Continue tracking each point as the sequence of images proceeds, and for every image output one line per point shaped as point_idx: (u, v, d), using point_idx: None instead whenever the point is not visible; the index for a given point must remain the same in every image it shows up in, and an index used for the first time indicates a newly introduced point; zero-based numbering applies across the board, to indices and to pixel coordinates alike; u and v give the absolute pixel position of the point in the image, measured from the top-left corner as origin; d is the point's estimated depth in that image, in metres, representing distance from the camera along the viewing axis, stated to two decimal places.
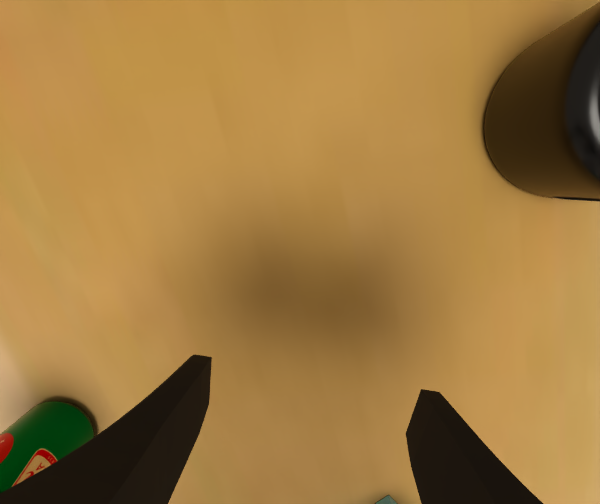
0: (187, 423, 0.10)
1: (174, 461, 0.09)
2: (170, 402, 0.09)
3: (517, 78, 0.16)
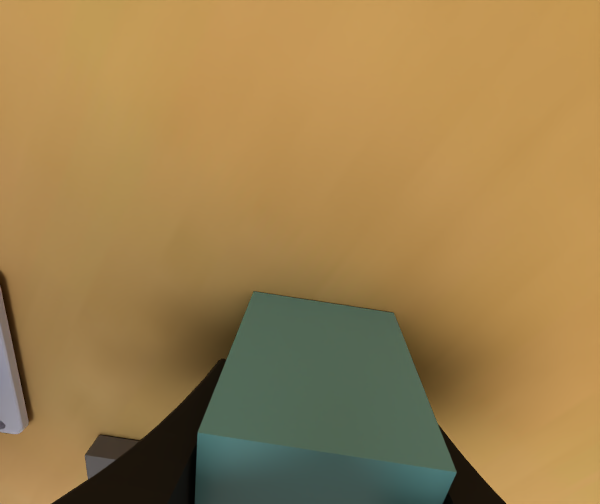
0: None
1: None
2: (206, 408, 0.09)
3: None
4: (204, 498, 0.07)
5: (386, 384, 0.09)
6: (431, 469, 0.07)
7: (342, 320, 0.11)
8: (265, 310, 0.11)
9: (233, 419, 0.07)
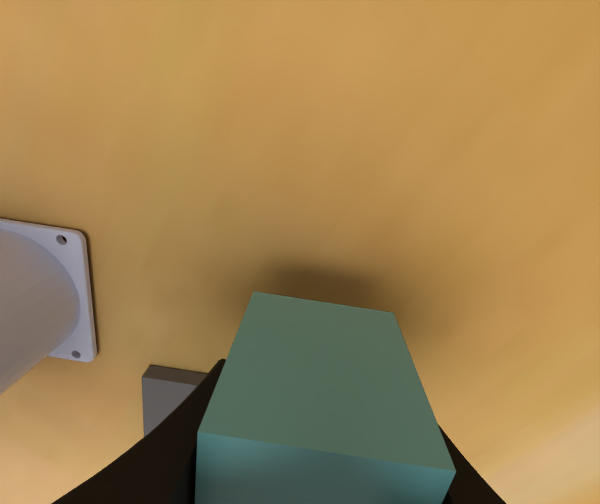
0: None
1: None
2: (206, 408, 0.09)
3: None
4: (204, 497, 0.07)
5: (386, 383, 0.09)
6: (431, 468, 0.07)
7: (342, 320, 0.11)
8: (265, 310, 0.11)
9: (233, 418, 0.07)
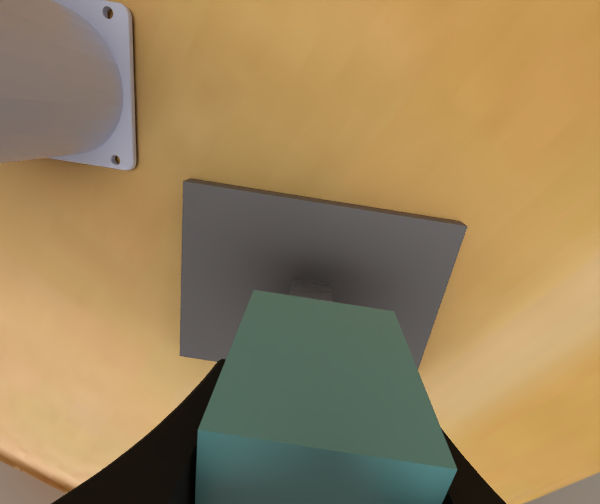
0: None
1: None
2: None
3: None
4: (204, 496, 0.07)
5: (386, 381, 0.09)
6: (432, 466, 0.07)
7: (342, 318, 0.11)
8: (265, 308, 0.11)
9: (233, 416, 0.07)
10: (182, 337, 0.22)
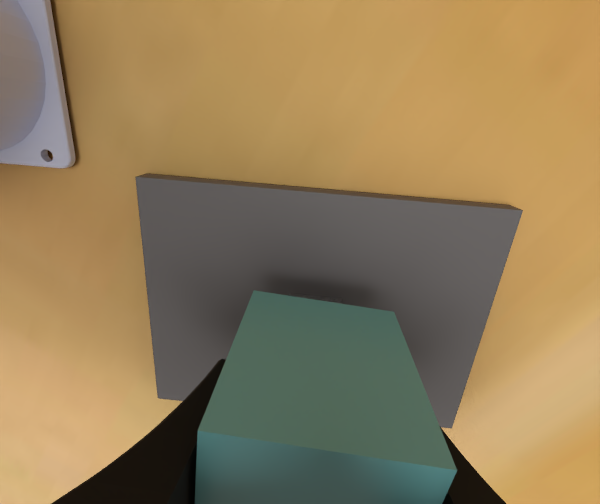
0: None
1: None
2: (206, 407, 0.09)
3: None
4: (204, 496, 0.07)
5: (386, 382, 0.09)
6: (431, 467, 0.07)
7: (342, 319, 0.11)
8: (265, 309, 0.11)
9: (233, 417, 0.07)
10: (158, 376, 0.18)
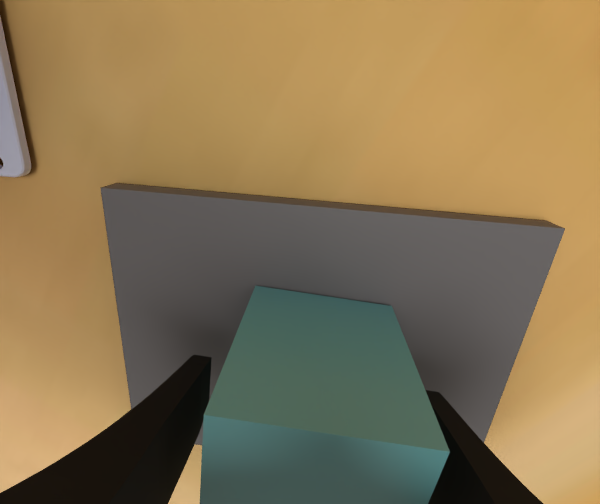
0: (187, 423, 0.10)
1: (174, 461, 0.09)
2: (170, 402, 0.09)
3: None
4: (210, 479, 0.08)
5: (383, 371, 0.09)
6: (425, 449, 0.07)
7: (341, 312, 0.12)
8: (267, 303, 0.11)
9: (237, 403, 0.07)
10: None
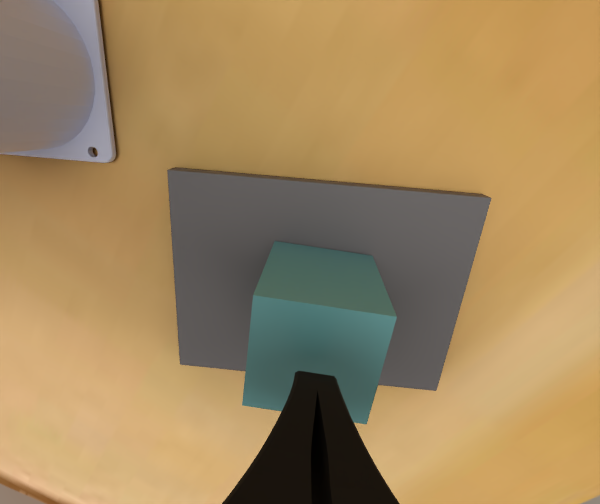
0: None
1: None
2: (305, 423, 0.09)
3: None
4: (254, 341, 0.13)
5: (362, 285, 0.14)
6: (383, 316, 0.12)
7: (336, 257, 0.17)
8: (284, 250, 0.16)
9: (271, 293, 0.12)
10: (181, 344, 0.20)
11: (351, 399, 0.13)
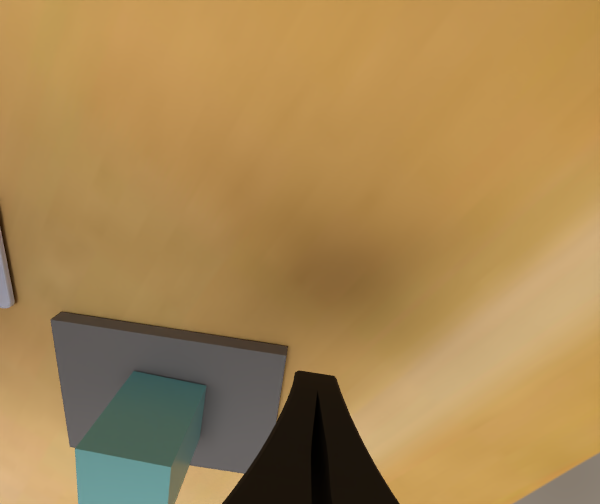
0: None
1: None
2: (305, 423, 0.09)
3: None
4: (80, 473, 0.18)
5: (170, 428, 0.20)
6: (162, 465, 0.18)
7: (172, 391, 0.22)
8: (133, 384, 0.22)
9: (91, 443, 0.18)
10: (69, 433, 0.26)
11: None
